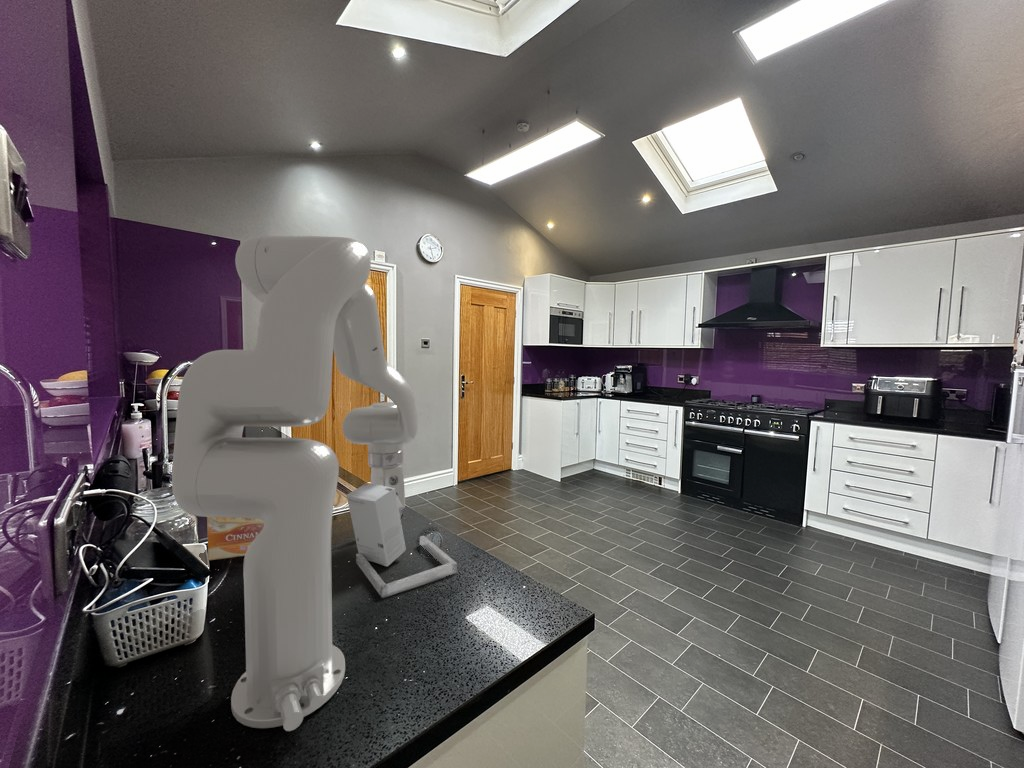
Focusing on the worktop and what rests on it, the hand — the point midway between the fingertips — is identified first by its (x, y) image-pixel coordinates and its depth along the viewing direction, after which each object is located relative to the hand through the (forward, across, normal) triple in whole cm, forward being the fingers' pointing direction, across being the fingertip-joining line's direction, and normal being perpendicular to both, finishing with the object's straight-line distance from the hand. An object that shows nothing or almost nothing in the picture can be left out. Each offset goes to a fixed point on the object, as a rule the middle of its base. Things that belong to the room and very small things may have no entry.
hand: (386, 530), depth 92 cm
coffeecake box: (+3, +12, +25) cm, 27 cm away
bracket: (+2, -13, +1) cm, 14 cm away
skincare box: (+2, -8, +3) cm, 8 cm away
